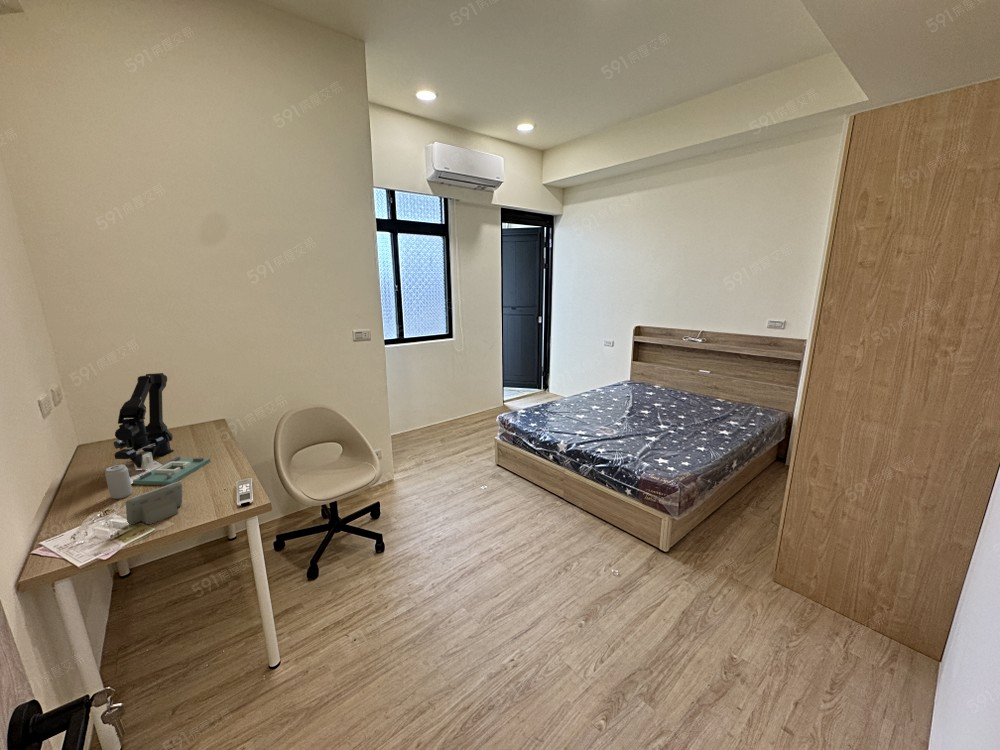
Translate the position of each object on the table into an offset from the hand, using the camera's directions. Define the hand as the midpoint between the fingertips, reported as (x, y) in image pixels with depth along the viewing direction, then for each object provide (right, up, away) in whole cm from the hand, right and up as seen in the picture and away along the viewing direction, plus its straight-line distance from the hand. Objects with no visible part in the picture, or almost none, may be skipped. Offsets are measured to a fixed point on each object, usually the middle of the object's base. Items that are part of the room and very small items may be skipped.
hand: (144, 465), depth 180 cm
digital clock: (+37, -10, -36) cm, 52 cm away
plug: (0, -1, 0) cm, 2 cm away
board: (+16, -2, -3) cm, 16 cm away
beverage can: (+11, -7, -22) cm, 26 cm away
